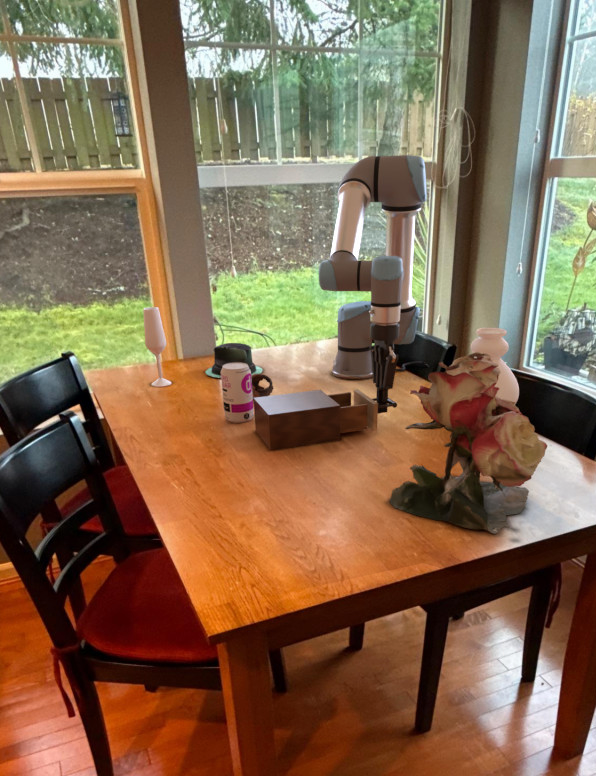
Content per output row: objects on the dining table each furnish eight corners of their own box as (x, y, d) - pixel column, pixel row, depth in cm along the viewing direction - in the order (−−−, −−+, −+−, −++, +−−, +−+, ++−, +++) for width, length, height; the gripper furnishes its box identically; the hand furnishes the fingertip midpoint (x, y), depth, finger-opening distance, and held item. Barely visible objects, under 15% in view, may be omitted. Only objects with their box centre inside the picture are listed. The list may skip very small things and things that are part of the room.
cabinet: (321, 422, 175) (320, 389, 170) (340, 440, 163) (340, 405, 158) (255, 431, 169) (253, 397, 164) (270, 450, 157) (268, 414, 153)
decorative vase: (439, 430, 168) (447, 334, 155) (456, 410, 181) (465, 321, 169) (506, 440, 161) (521, 341, 148) (519, 419, 175) (533, 326, 162)
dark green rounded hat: (270, 362, 228) (258, 379, 211) (228, 385, 235) (214, 403, 218) (247, 324, 222) (234, 339, 205) (206, 349, 229) (189, 365, 212)
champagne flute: (176, 382, 210) (166, 307, 198) (161, 387, 205) (150, 311, 194) (161, 379, 214) (151, 305, 202) (146, 384, 209) (135, 309, 197)
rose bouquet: (519, 544, 116) (546, 384, 101) (378, 507, 130) (384, 361, 115) (555, 491, 135) (582, 350, 120) (428, 464, 148) (439, 334, 133)
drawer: (380, 411, 179) (381, 386, 175) (401, 426, 168) (403, 400, 164) (298, 423, 172) (297, 396, 168) (314, 439, 161) (314, 411, 157)
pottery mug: (272, 393, 200) (276, 374, 193) (268, 414, 195) (272, 395, 188) (234, 384, 198) (238, 365, 191) (230, 405, 193) (233, 386, 186)
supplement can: (259, 415, 180) (255, 363, 172) (244, 425, 173) (240, 371, 166) (234, 412, 183) (230, 360, 175) (219, 421, 176) (214, 368, 169)
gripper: (361, 319, 164) (359, 406, 176) (382, 328, 153) (378, 421, 165) (387, 316, 166) (384, 403, 178) (409, 326, 155) (404, 417, 167)
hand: (381, 411), depth 171 cm, fingers closed
